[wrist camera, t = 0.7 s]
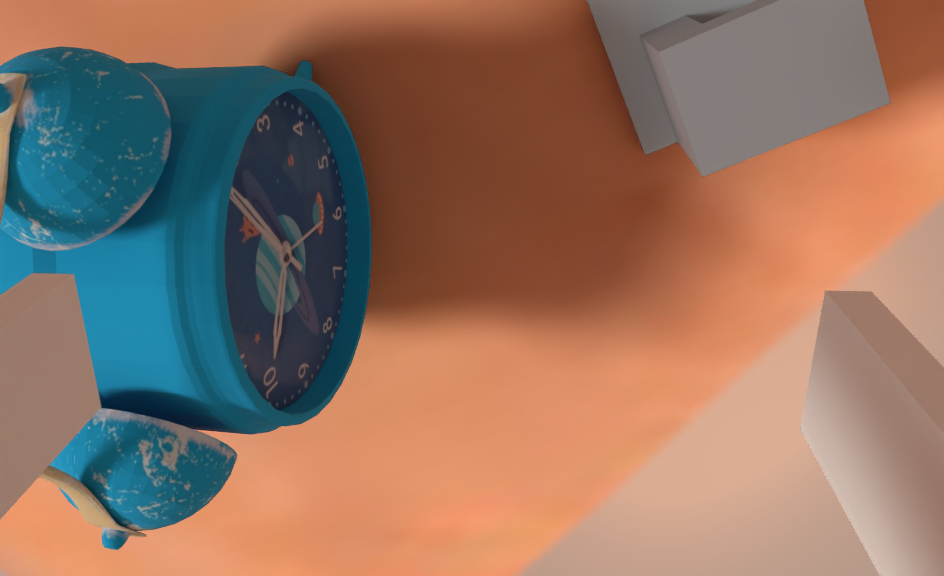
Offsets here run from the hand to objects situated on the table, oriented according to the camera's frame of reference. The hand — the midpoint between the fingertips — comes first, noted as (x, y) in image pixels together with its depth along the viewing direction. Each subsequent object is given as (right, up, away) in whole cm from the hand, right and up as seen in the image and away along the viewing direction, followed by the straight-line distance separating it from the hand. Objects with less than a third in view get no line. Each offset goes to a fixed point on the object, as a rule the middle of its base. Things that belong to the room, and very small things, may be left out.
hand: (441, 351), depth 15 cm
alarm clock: (-9, +6, +26) cm, 28 cm away
